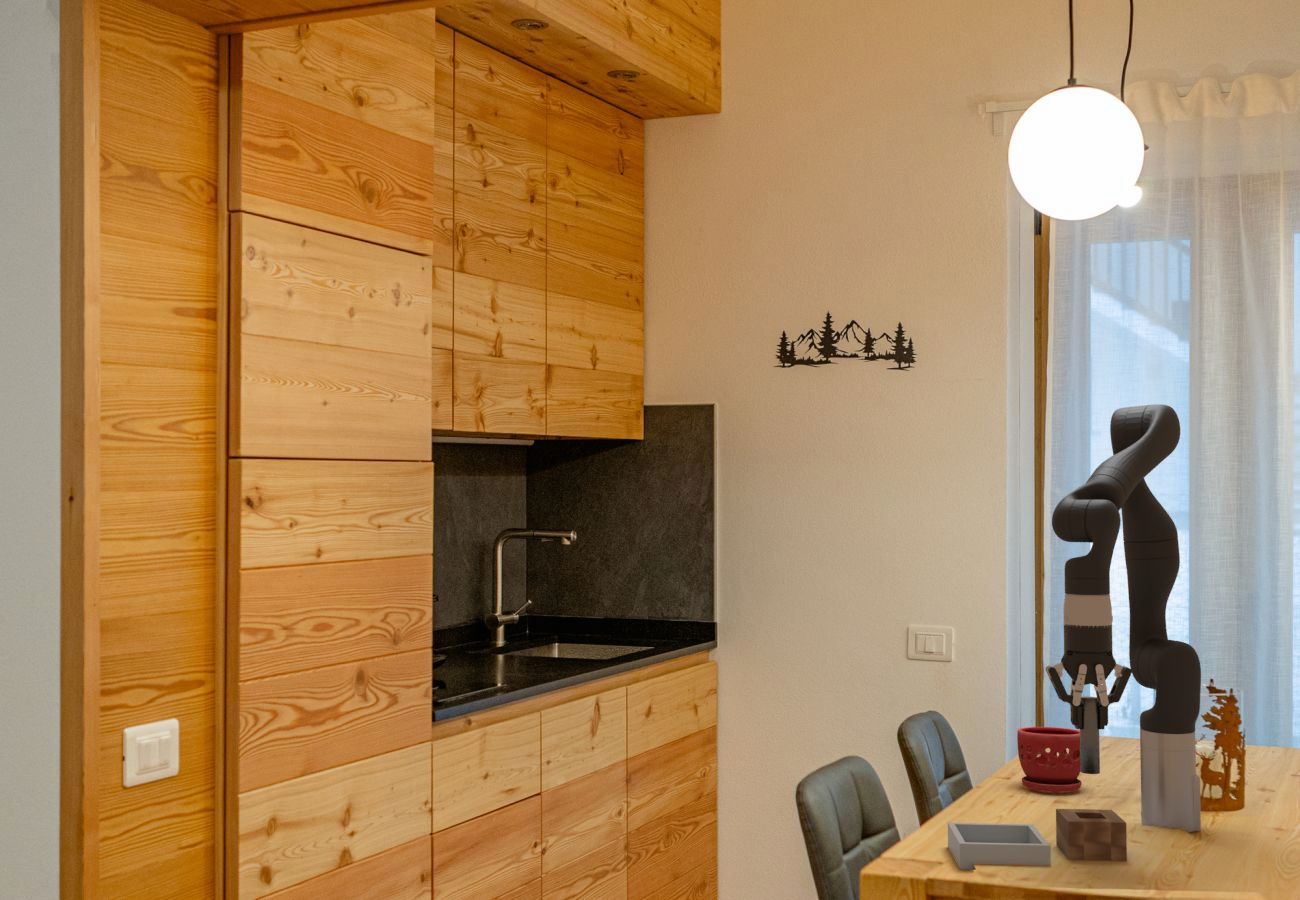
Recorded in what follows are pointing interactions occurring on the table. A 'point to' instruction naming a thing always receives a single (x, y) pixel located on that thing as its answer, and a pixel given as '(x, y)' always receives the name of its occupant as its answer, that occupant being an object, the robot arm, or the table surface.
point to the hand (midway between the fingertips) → (1089, 728)
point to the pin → (1089, 736)
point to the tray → (997, 844)
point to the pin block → (1091, 835)
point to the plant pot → (1050, 759)
